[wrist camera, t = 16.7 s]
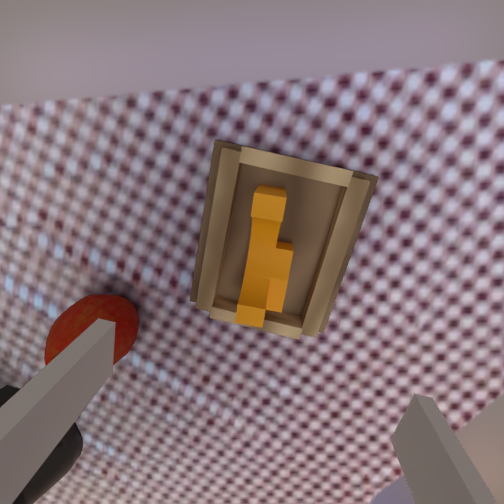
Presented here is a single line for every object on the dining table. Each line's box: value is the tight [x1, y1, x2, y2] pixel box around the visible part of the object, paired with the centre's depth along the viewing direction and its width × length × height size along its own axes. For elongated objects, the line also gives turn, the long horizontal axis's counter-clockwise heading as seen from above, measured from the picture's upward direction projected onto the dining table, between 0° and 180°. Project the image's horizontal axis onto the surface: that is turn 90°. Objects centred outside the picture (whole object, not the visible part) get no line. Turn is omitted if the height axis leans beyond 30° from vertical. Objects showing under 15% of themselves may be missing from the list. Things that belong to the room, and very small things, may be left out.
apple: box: [45, 295, 139, 366], centre depth 32 cm, size 8×8×11 cm
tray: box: [190, 140, 379, 339], centre depth 30 cm, size 16×18×3 cm
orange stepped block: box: [235, 184, 293, 327], centre depth 28 cm, size 12×4×6 cm, turn 172°
